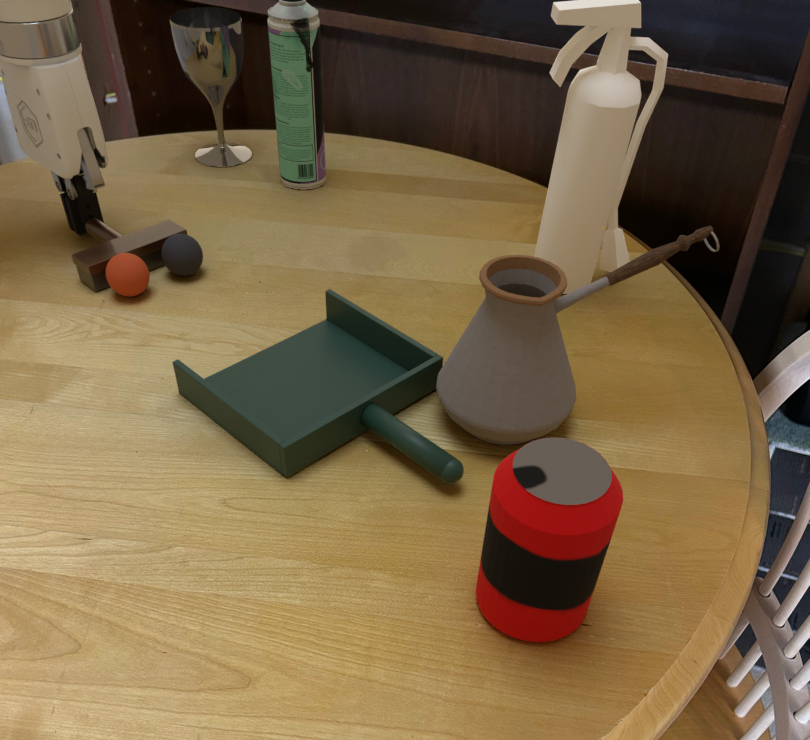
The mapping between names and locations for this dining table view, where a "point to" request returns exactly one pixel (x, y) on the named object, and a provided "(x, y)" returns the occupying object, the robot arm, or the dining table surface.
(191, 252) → the grey ball
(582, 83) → the fire extinguisher
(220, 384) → the dustpan
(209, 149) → the wine glass
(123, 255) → the terracotta ball
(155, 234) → the brush
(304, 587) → the dining table surface
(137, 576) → the dining table surface
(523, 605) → the soda can
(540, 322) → the coffee pot
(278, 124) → the spray can
